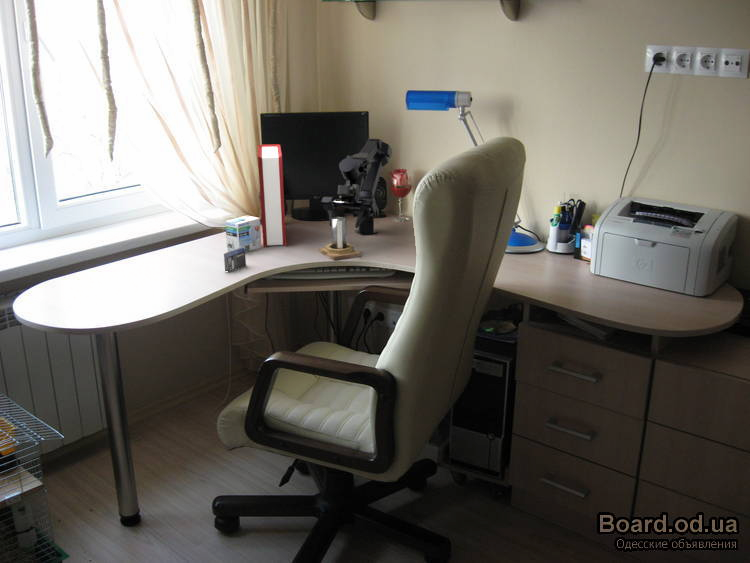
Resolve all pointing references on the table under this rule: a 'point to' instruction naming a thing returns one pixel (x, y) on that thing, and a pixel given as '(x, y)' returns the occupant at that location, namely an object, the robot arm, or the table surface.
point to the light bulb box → (243, 233)
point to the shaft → (339, 233)
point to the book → (272, 194)
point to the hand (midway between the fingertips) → (343, 226)
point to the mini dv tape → (234, 259)
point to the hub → (340, 252)
